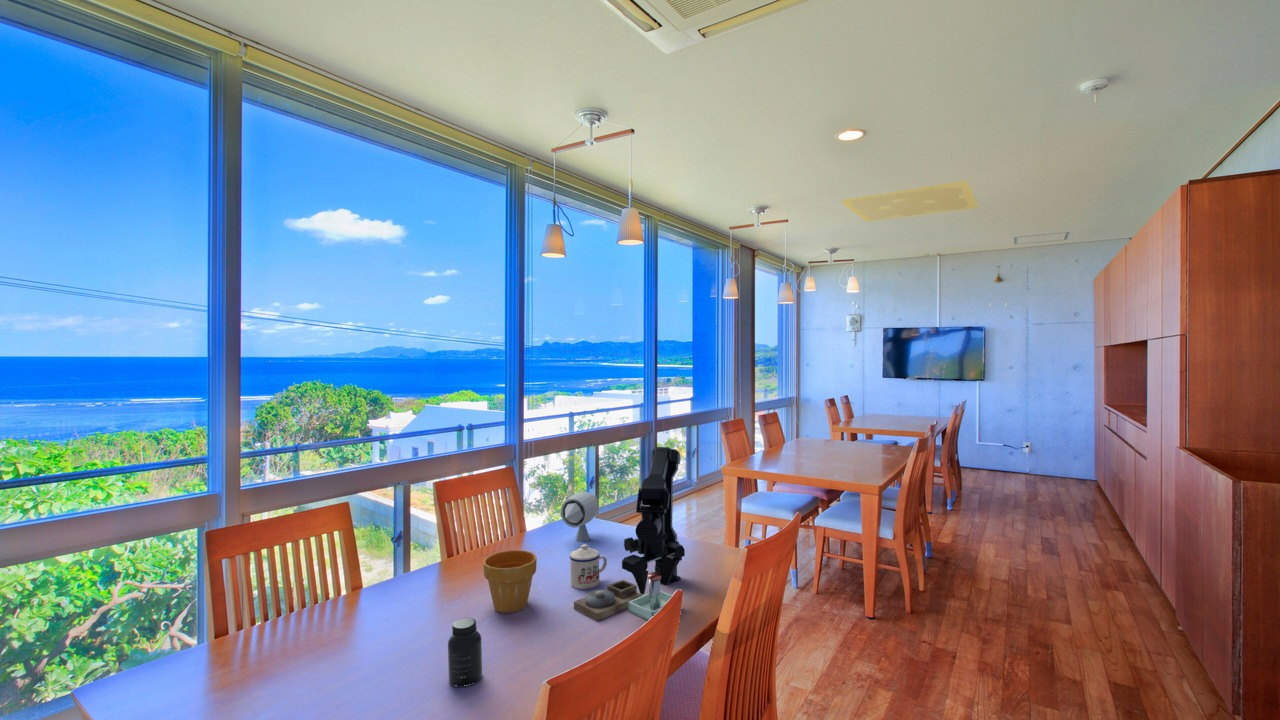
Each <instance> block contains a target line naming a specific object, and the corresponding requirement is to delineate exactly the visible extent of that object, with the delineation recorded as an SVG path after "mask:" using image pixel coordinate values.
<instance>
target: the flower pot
mask: <svg viewBox="0 0 1280 720" xmlns="http://www.w3.org/2000/svg"><path fill="white" fill-rule="evenodd" d="M536 572H537V555H536V554H535V553H533V552H531V551H528V550H523V549H522V550H521V549H514V550H513V549H512V550H511V549H510V550H503V551H499V552H495V553H493V554H491V555H489V556H487V557H486V558H484V560H483V576H484V578H485V579H486V580H487V582H488V586H489V587H488V588H489V591H490V595H491V601H492V604H493V609H494V610H495V611H497V612H499V613H504V614H507V613H516V612H519V611H522V610H523V609H525V608H526V607H527V605H528V600H529V596H530V592H531V587H532V586H531V585H532V581H533V576H534V575H535V574H536Z"/></svg>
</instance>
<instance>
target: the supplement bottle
mask: <svg viewBox="0 0 1280 720" xmlns="http://www.w3.org/2000/svg"><path fill="white" fill-rule="evenodd" d="M451 628H452V630H451V632H452V633H451V634H452V635H451V636H450V637H449V639H448V640H447V659H448V682H449V684H450V685H452V684H453V685H457V686H464V685H465V686H466V685H469V684H472V683H474V684H476V683H478V682H479V681H480V680H481V678H482V675H483V657H482V656H483V652H482V651H483V650H482V648H483V647H482V635H481V634H480V632H479V631H478V630H477V620H476V619H475V618H473V617H463V618H460V619H457V620H455V621H454V622H453V623H452V626H451ZM475 682H476V683H475ZM453 685H452V686H453ZM472 685H473V684H472ZM466 687H467V686H466Z"/></svg>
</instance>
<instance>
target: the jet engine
mask: <svg viewBox="0 0 1280 720" xmlns="http://www.w3.org/2000/svg"><path fill="white" fill-rule="evenodd" d="M599 507H600V503H599V500H598V498H597V496H596V495H595V494H593V493H592V492H588V491H585V492H583V491H581V492H577V493H576V494H573V495H571V496H570V497H569V498H567V499H566V500H565V501H564V502H563V503H562V504H561V507H560V517H561V520H562V522H564V524H565V525H566V526H568V527H570V528H573V529H574V528H578V530H577V532H576V536H575V541H576V542H581V543H583V542H588V541H590V540H591V536H590V534H589V532H588V529H587V526H586V525H587V524H588V523H590V522H591V521H592V520H593V519H594V518H595V517H596V516H597V514H598V511H599Z"/></svg>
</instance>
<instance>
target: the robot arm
mask: <svg viewBox="0 0 1280 720" xmlns="http://www.w3.org/2000/svg"><path fill="white" fill-rule="evenodd" d="M650 460H651V461H650V463H651V467H650V470H649V474H648V476H647V477H646V478H645V479H643V480H642V483H641V486H640V487H639V488H638V491H637V500H636V508H635V513H637V514H641V518H640V521H639V522H638V523H637V525H636V528H635V535H636V537H637V538H633V536H632V537H628V538H627V537H626V538H624V539H623V540H624V541H623V546H624V551H626V552H629V553H630V555H628V556H626V557H624V558H623V559H621V560H622V561H621V569H623V570H625V571H627V572H628V573H631V574H632V576H633V578H634V580H635V582H636V585H637V588H638V591H639V594H642V596H643V595H645V593H646V588H647V581H648V574H649V571H648V570H647V569H648V567H649V566H648V565H649V563H652V562H654V561H655V563H654V564H655V565H654V572H658V573H661V579H660V584H662V585H663V584H664V585H669V584H673V583H674V582H677V581H679V580H681V579H682V577H681V576H679V575H678V564H679V563H680V562H681V561H682V560H683V557H685V552H686V551H685V548H684V546H683V545H682V544H680V542H679V541H678V534H677V532H676V531H675V529H674V527H673V510H674V509H673V505H674V502H673V501H674V500H673V499H674V498H673V496H674V495H673V494H674V489H673V488H674V485H673V484H674V477H675V476H676V474H677V472H678V471H679V465H680V464H681V453H680V450H677V449H674V448H671V447H669V446H655V447H654V448H653V449H651V459H650ZM635 552H637V553H638V554H639V555H643V556H639V555H636V554H633V553H635Z"/></svg>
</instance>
